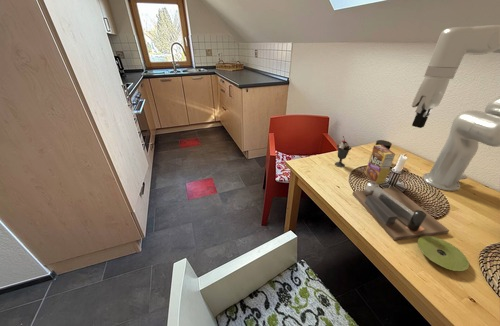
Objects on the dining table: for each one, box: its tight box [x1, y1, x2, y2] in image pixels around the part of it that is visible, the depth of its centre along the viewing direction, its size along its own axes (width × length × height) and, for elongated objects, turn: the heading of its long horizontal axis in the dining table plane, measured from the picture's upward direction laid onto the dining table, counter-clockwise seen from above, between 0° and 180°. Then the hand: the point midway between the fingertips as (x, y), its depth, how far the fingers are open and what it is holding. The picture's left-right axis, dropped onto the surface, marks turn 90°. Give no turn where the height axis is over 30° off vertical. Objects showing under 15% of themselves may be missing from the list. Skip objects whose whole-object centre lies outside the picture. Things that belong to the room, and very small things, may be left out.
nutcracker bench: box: [352, 186, 450, 241], centre depth 73 cm, size 19×23×5 cm
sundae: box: [334, 136, 352, 168], centre depth 99 cm, size 7×7×15 cm
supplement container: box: [374, 139, 392, 151], centre depth 104 cm, size 7×7×10 cm
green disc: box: [417, 236, 470, 272], centre depth 58 cm, size 11×11×2 cm
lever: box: [364, 180, 426, 231], centre depth 71 cm, size 21×4×6 cm, turn 16°
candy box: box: [364, 144, 396, 185], centre depth 88 cm, size 9×4×15 cm, turn 2°
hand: (417, 126), depth 75 cm, fingers closed
